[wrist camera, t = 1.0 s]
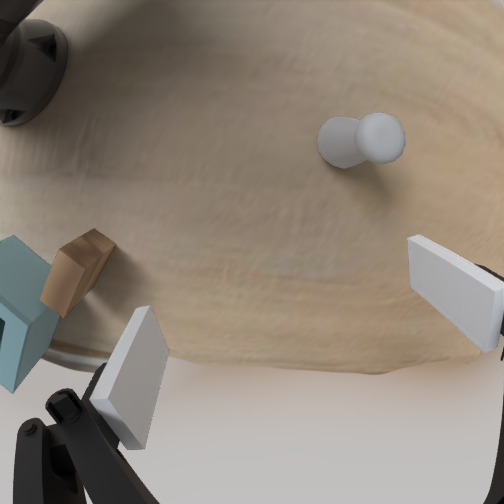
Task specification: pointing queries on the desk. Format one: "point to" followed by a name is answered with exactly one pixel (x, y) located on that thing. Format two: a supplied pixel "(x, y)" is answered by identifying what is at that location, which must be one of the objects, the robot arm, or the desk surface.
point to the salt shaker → (361, 140)
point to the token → (76, 271)
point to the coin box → (22, 312)
